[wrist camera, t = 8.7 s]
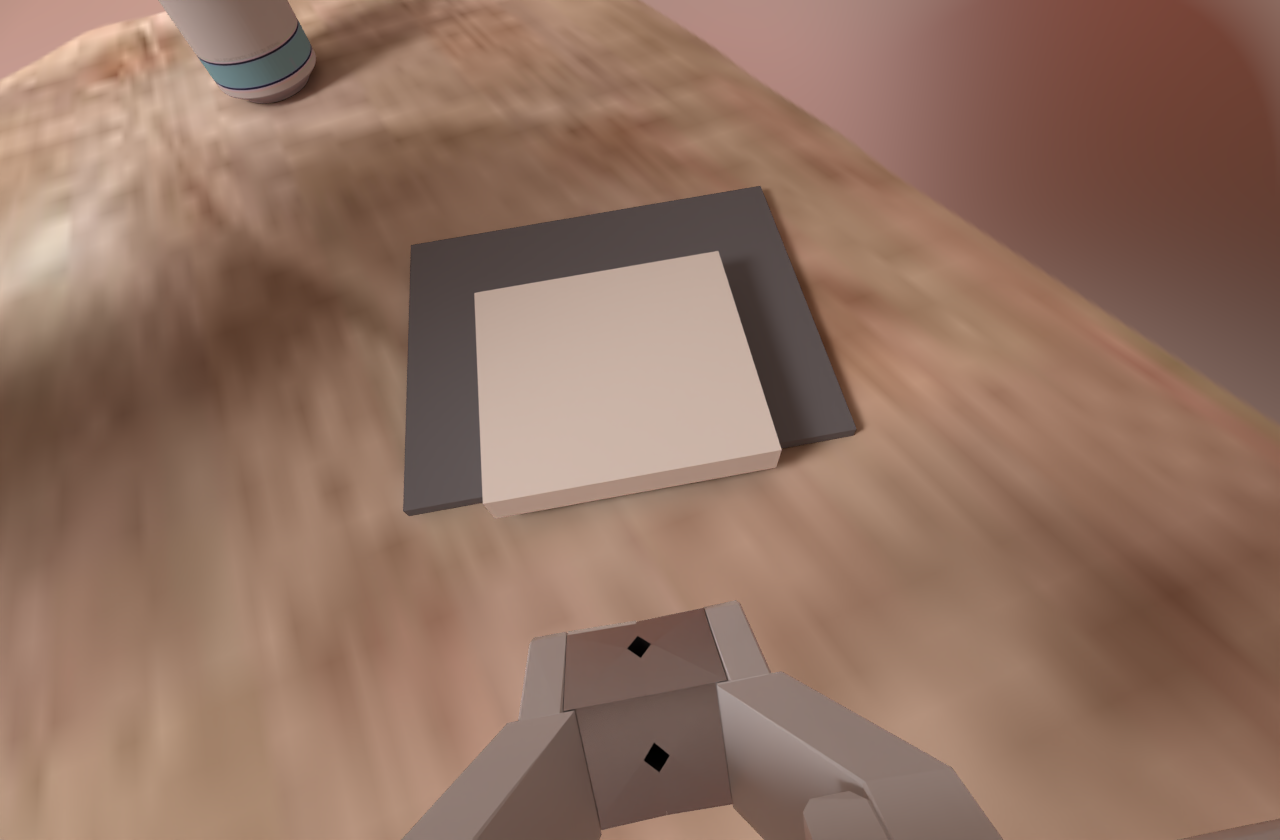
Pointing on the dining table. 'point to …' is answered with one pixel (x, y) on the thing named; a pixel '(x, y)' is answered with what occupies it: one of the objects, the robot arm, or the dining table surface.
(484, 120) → the dining table surface
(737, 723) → the robot arm
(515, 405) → the tile
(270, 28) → the beverage can
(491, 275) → the mat
